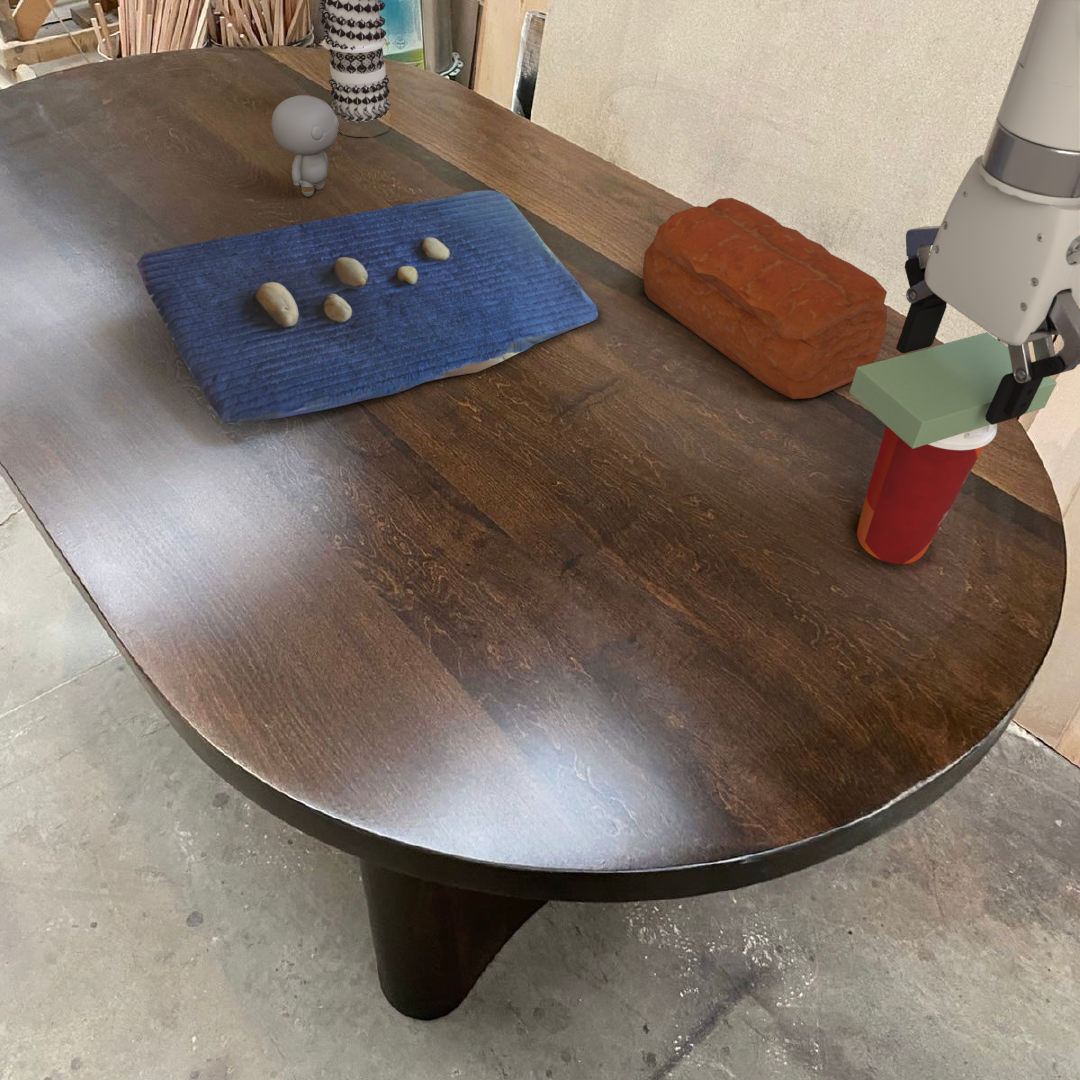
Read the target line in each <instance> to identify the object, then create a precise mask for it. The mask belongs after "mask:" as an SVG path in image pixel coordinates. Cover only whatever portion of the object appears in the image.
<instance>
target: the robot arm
mask: <svg viewBox="0 0 1080 1080" xmlns="http://www.w3.org/2000/svg"><path fill="white" fill-rule="evenodd" d="M1016 60H1017V61H1016V62H1015V66H1014V68H1013V70H1012V73H1011V77H1010V79H1009V82H1008V85H1007V88H1006V91H1005V94H1004V95H1003V99H1002V101H1001V104H1000V106H999V110H998V113H997V116H996V118H995V121H994V124H993V127H992V129H991V132H990V135H989V138H988V141H987V143H986V146H985V149H984V151H983V153H982V154H981V155H979V156H978V157H976V158H975V159H974V161H973V162H972V164H971V166H970V167H969V168H968V170H967V172H966V173H965V176H964V177H963V179H962V181H961V182H960V185H959V186H958V188H957V190H956V191H955V194H954V196H953V198H952V200H951V202H950V204H949V206H948V208H947V210H946V213H945V215H944V217H943V218H942V222H941V224H940V225H929V226H919V227H915V228H910V229H908V230H907V231H906V233H905V247H906V248H905V251H906V253H905V254H906V257H907V259H906V261H905V262H904V270H905V275H906V278H907V282H908V286H909V288H907V290H906V293H905V297H906V300H907V301H908V303H910V305H909V308H908V311H907V314H906V317H905V320H904V323H903V326H902V328H901V332H900V335H899V338H898V341H897V344H896V346H895V347H896V348H895V349H896V350H897V351H898V352H900V354H908V353H912V352H916V351H919V350H923V349H927V348H930V347H932V345H934V342H935V339H936V336H937V333H938V331H939V328H940V325H941V323H942V321H943V317H944V315H945V312H946V309H947V304H948V305H949V306H951V307H952V308H953V309H954V310H956V311H958V312H959V313H960V314H961V315H963V316H964V317H966V318H968V319H969V320H970V321H972V322H973V323H974V324H976V325H977V326H979V327H980V328H982V329H983V330H985V331H986V332H987V333H989V334H990V335H992V336H993V337H994V338H996V339H997V340H999V341H1000V342H1001V343H1003V344H1005V345H1007V347H1008V349H1009V354H1010V360H1011V365H1012V371H1013V373H1009V374H1006V375H1005V376H1003V378H1002V380H1001V382H1000V384H999V386H998V389H997V391H996V393H995V395H994V398H993V400H992V402H991V404H990V406H989V409H988V411H987V413H986V415H985V417H986V421H988V422H989V423H990V424H991V425H993V424H997V425H998V424H1000V423H1004V422H1007V421H1009V420H1012V419H1017V418H1020V417H1022V416H1023V415H1025V414H1024V413H1025V412H1026V411H1027V410H1028V409H1029V407H1030V405H1031V403H1032V400H1033V398H1034V396H1035V394H1036V392H1037V390H1038V388H1039V386H1040V384H1041V382H1042V380H1043V378H1045V377H1053V376H1056V375H1060V374H1063V373H1066V372H1069V371H1073V370H1075V369H1076V368H1077V366H1078V365H1080V0H1038V1H1037V4H1036V7H1035V9H1034V12H1033V16H1032V18H1031V21H1030V24H1029V26H1028V29H1027V32H1026V35H1025V38H1024V41H1023V43H1022V46H1021V48H1020V51H1019V54H1018V57H1017V59H1016ZM1053 336H1060V337H1061V339H1062V342H1063V347H1062V348H1061V349H1060V350H1059V351H1058V352H1057V353H1056V351H1055V345H1054V340H1053ZM1029 343H1032V348H1033V355H1034V358H1035V360H1033V361H1032V357H1031V353H1030V347H1029Z"/></svg>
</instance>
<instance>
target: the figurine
mask: <svg viewBox="0 0 1080 1080" xmlns="http://www.w3.org/2000/svg"><path fill="white" fill-rule="evenodd" d="M334 112H335V111H334V110H333V108H332V106H330V105H329V104H328V103H327V102H326V101H324V100H322V99H321V98H318V97H316V96H313V95H312V96H311V95H305V94H302V95H301V94H300V95H295V96H291V97H288V98H286V99H284V100H283V101H281V102H280V103H279V104H278V105H277V106H276V107H275V109H274V111H273V113H272V115H271V130H272V134H273V137H274V139H275V142H276V143H277V144H278V146H280V147H281V149H283V150H284V151H286V152H287V153H291V154H295V157H294V159H293V161H292V165H291V180H292V182H293V185H294V186H296V187H300V185H301V186H303V187H312V186H313V185H314V184H319V183H321V182H323V181H324V180H325V181H326V178H327V176H328V168H329V157H328V155H327V153H326V152H325V151H327V150H328V149H330V148H331V146H333V145H334V144H335V142H336V140H337V138H338V133H339V132H338V126H339V121H338V118H337V116H336V115H335V113H334ZM325 183H326V182H325ZM325 183H324V184H322V185H314V190H313V191H311V192H303V191H301V193H302V195H303V196H304V197H306V198H310V197H312V196H313V195H314V192H315V190H316V191H321V190H322V189H324V187H325Z"/></svg>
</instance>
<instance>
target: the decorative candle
mask: <svg viewBox="0 0 1080 1080" xmlns="http://www.w3.org/2000/svg"><path fill="white" fill-rule="evenodd" d="M385 8H386V4H385V2H384V1H382V0H320V2H319V7H318V10H319V12H320V13H321V18H320V23H321V24H322V27H323V28H324V32H323V39H324V43H325V46H326V47H327V48H328V49H329V57H330V63H329V70H330V78H329V80H328V83H329V85H330V87H331V90H330V91H329V92H330V95H331V97H332V99H333V100H332V101H331V108H332V110H333V111H334V112H336V113H337V114H336V116H340V119H347V122H349V121H355V122H356V123H358V122H361V121H364V122H368V121H370V120H375V119H377V118H381V117H382V116H383V115H386V113H387V111H388V110H390V107H391V105H392V103H391V101H390V98H389V97H388V96H389V94H390V93H391V92H390V91H391V90H390V89H389V87H388V84H389V82H390V79H389V77H388V75H387V70H386V63H385V62H384V50H383V48H384V47H385V45H386V43H387V41H386V39H385V37H386V35H387V31H386V30H384V29H383V26H384V25H385V24H386V19H385V18H384V17H383V16H382V15H380V12H381V11H383V10H384V9H385Z"/></svg>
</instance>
